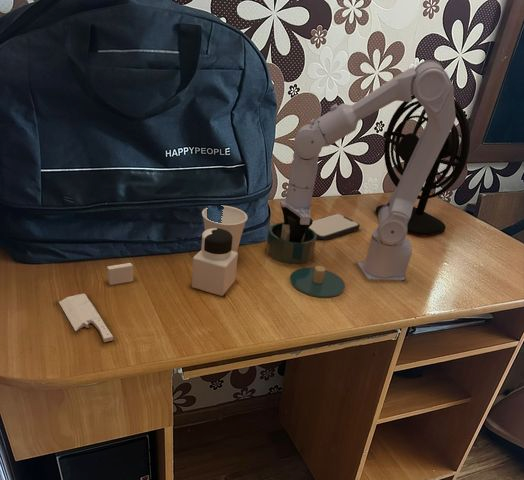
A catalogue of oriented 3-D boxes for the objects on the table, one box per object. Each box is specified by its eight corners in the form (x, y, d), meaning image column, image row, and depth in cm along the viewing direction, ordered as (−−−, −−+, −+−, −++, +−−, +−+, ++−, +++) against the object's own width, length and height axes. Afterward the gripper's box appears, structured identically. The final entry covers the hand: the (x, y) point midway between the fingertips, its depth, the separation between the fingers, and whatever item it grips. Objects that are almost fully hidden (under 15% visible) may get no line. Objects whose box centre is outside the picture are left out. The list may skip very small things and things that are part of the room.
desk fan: (353, 207, 152) (384, 78, 130) (393, 200, 161) (429, 78, 139) (421, 246, 135) (469, 106, 114) (461, 236, 144) (513, 104, 123)
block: (297, 242, 123) (300, 224, 120) (301, 251, 119) (305, 233, 117) (279, 242, 122) (282, 224, 119) (283, 250, 118) (286, 232, 116)
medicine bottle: (235, 281, 109) (240, 230, 102) (222, 297, 103) (227, 243, 96) (205, 273, 110) (208, 221, 103) (191, 287, 105) (193, 234, 97)
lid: (334, 271, 118) (338, 255, 115) (351, 300, 109) (356, 283, 106) (284, 271, 115) (287, 254, 113) (297, 300, 106) (300, 282, 103)
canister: (305, 244, 127) (309, 223, 124) (317, 266, 119) (322, 244, 115) (262, 243, 125) (265, 221, 121) (271, 266, 116) (275, 242, 113)
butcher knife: (84, 347, 85) (83, 342, 85) (59, 303, 95) (58, 298, 94) (113, 340, 88) (113, 335, 87) (86, 297, 97) (85, 292, 96)
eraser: (108, 282, 102) (107, 266, 100) (131, 278, 105) (130, 262, 103) (110, 285, 102) (109, 269, 99) (133, 281, 104) (132, 265, 102)
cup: (236, 274, 111) (241, 228, 105) (193, 265, 112) (195, 218, 106) (246, 254, 119) (252, 210, 113) (206, 246, 120) (209, 202, 113)
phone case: (321, 243, 130) (360, 230, 139) (322, 237, 129) (362, 224, 138) (297, 229, 135) (337, 217, 144) (298, 224, 134) (338, 212, 143)
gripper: (277, 171, 116) (269, 226, 124) (291, 195, 105) (282, 254, 113) (306, 173, 117) (296, 227, 126) (323, 197, 106) (312, 255, 115)
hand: (291, 240), depth 120 cm, fingers open, 4 cm apart
